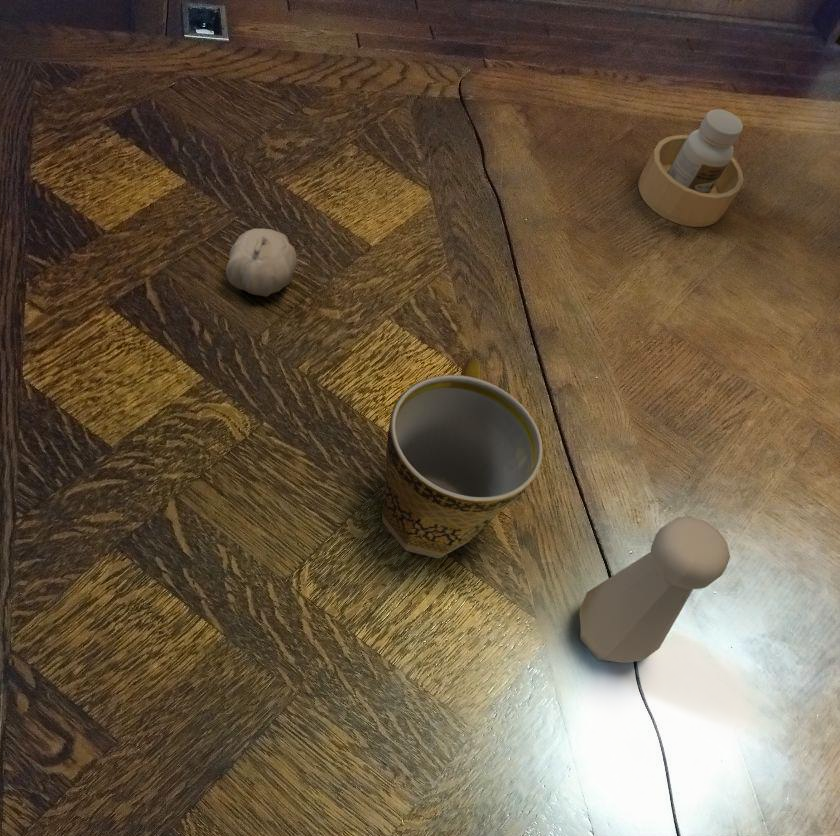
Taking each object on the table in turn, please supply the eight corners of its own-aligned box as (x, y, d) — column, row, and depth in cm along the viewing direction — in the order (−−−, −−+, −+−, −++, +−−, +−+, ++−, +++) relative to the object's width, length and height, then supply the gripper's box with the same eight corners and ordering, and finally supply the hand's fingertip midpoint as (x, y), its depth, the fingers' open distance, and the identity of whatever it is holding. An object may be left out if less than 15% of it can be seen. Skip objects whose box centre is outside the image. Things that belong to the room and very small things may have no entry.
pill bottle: (688, 213, 93) (730, 143, 86) (652, 186, 94) (691, 115, 87) (714, 196, 95) (758, 127, 88) (679, 170, 96) (719, 99, 89)
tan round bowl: (703, 165, 98) (721, 134, 95) (738, 227, 94) (758, 197, 91) (625, 165, 96) (641, 134, 93) (657, 228, 92) (674, 198, 89)
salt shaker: (552, 612, 69) (634, 512, 57) (618, 588, 70) (710, 488, 59) (595, 686, 66) (690, 597, 55) (663, 660, 68) (767, 568, 57)
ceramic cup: (488, 593, 68) (539, 517, 60) (348, 560, 68) (380, 479, 60) (501, 447, 75) (549, 361, 67) (374, 417, 75) (406, 326, 67)
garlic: (252, 319, 78) (260, 271, 74) (209, 278, 80) (214, 228, 75) (307, 288, 81) (318, 240, 76) (264, 249, 82) (272, 199, 78)
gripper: (1048, -203, 64) (885, 35, 77) (840, -284, 66) (718, -39, 80) (1033, -163, 60) (864, 79, 74) (813, -251, 62) (690, 0, 76)
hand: (789, 17), depth 77 cm, fingers open, 8 cm apart
